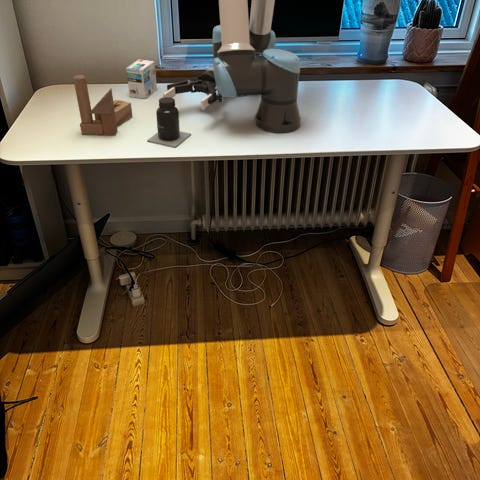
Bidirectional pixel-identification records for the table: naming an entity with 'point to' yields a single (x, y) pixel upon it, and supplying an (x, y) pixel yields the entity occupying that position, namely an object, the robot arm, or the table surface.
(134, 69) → the light bulb box
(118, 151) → the table surface
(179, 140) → the felt pad
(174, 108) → the supplement bottle
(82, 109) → the wooden block
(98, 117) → the plane block
